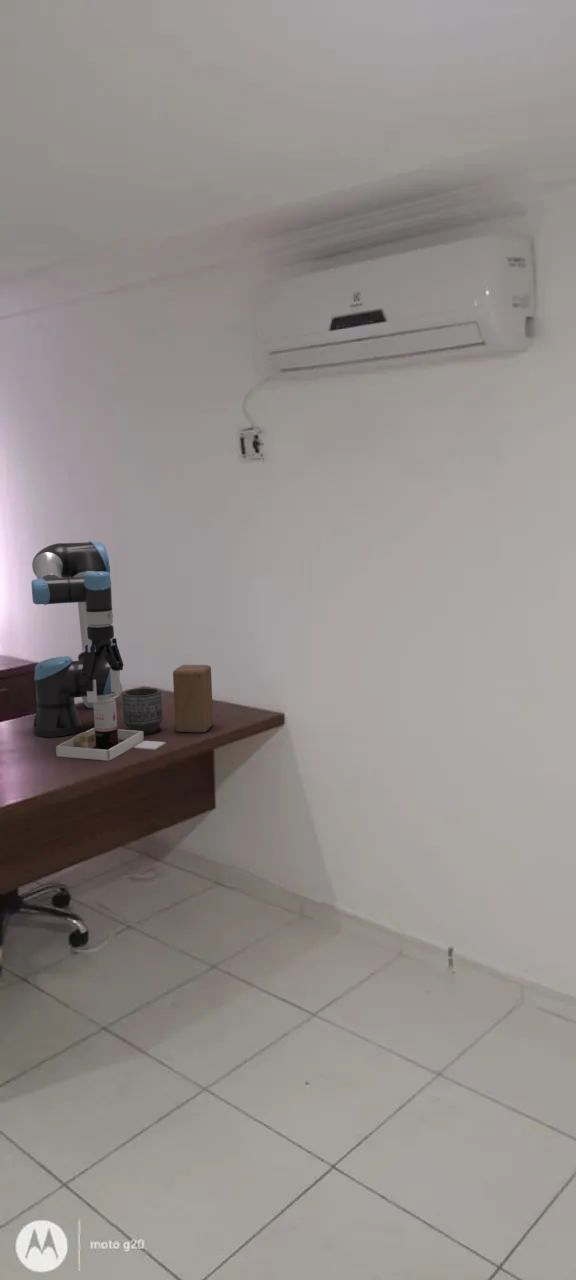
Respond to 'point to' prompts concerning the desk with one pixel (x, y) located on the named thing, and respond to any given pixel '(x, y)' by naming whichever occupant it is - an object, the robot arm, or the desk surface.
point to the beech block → (85, 740)
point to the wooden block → (193, 698)
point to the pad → (150, 745)
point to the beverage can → (105, 723)
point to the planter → (142, 709)
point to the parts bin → (99, 754)
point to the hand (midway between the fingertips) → (104, 697)
